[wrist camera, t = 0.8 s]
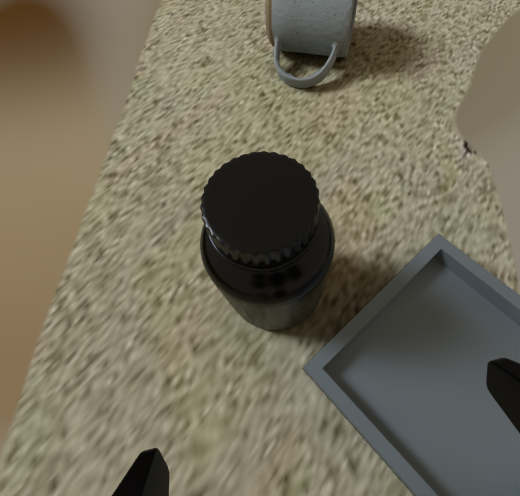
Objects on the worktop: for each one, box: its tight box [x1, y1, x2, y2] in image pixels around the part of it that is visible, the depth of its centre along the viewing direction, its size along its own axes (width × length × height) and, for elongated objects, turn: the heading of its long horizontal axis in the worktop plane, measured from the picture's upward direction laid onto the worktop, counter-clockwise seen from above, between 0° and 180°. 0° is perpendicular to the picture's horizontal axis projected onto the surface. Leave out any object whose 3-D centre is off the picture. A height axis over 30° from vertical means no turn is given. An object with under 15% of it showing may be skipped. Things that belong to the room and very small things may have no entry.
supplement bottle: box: [200, 151, 335, 330], centre depth 18 cm, size 7×7×12 cm
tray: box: [302, 234, 520, 496], centre depth 19 cm, size 13×13×2 cm
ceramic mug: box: [265, 0, 358, 88], centre depth 29 cm, size 11×8×8 cm
